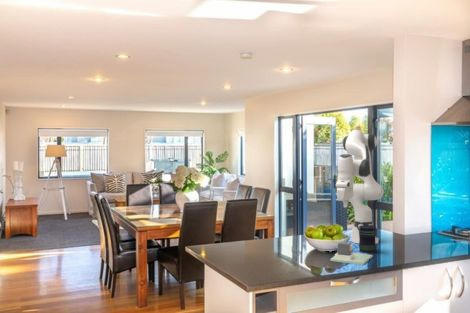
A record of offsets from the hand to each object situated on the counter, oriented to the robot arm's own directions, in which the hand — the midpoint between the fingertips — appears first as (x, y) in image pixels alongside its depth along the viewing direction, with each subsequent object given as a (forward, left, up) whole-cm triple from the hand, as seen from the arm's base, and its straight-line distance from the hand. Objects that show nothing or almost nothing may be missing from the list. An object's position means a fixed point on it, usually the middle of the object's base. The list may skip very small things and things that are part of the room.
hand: (345, 207), depth 250 cm
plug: (+7, +1, -27) cm, 28 cm away
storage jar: (-20, +7, -29) cm, 36 cm away
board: (+3, +4, -29) cm, 29 cm away
